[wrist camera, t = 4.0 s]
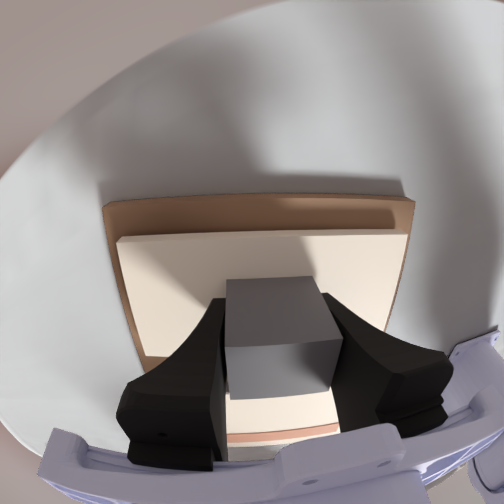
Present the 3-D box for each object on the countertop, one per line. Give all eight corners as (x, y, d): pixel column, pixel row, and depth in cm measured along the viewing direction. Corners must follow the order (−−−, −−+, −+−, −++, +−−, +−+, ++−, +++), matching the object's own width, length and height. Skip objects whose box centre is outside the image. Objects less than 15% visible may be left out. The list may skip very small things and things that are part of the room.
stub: (375, 333, 16) (410, 395, 11) (148, 346, 15) (127, 418, 10) (400, 229, 13) (463, 277, 8) (122, 236, 12) (70, 295, 8)
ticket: (336, 428, 21) (338, 436, 21) (184, 439, 21) (184, 447, 20) (361, 368, 18) (365, 376, 17) (161, 380, 17) (159, 390, 16)
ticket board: (341, 424, 23) (343, 431, 22) (177, 434, 22) (176, 443, 21) (405, 197, 14) (415, 201, 13) (109, 202, 13) (101, 207, 12)
